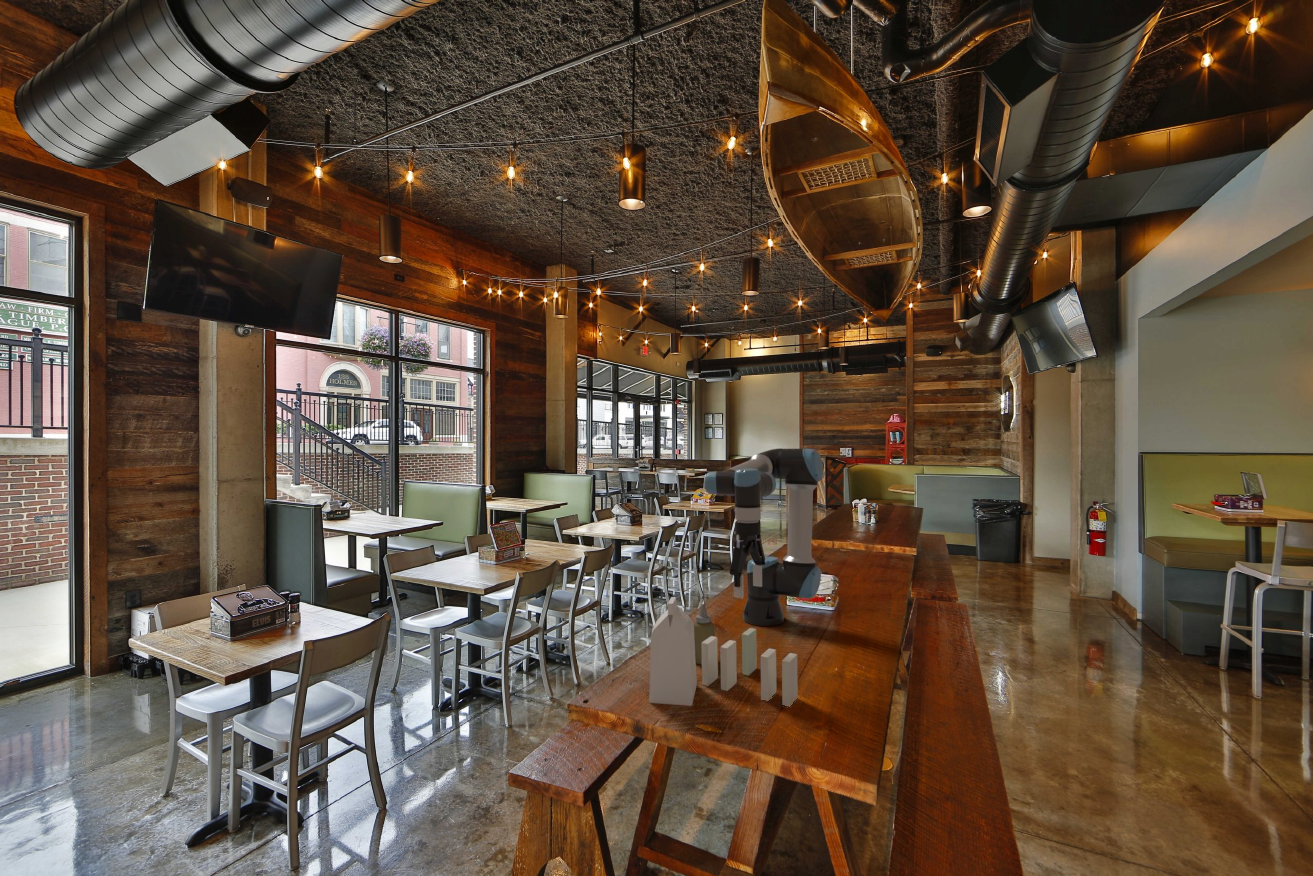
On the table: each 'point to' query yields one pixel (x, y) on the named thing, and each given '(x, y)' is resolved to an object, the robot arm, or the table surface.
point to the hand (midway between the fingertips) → (748, 591)
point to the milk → (673, 658)
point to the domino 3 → (749, 651)
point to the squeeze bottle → (702, 631)
